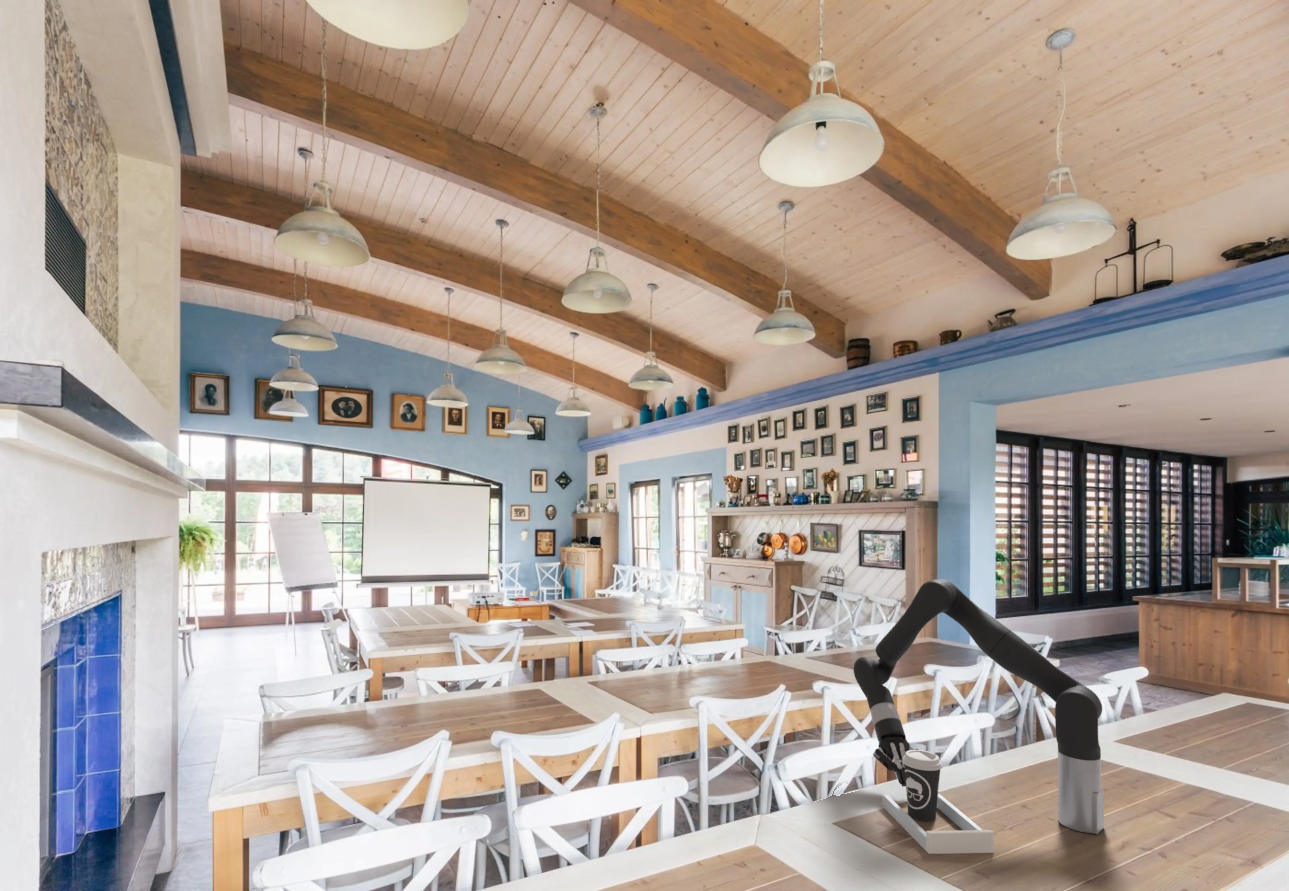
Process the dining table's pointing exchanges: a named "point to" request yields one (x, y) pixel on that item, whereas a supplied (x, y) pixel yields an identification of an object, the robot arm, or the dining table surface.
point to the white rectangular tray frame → (944, 841)
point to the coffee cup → (922, 783)
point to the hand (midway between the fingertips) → (906, 784)
